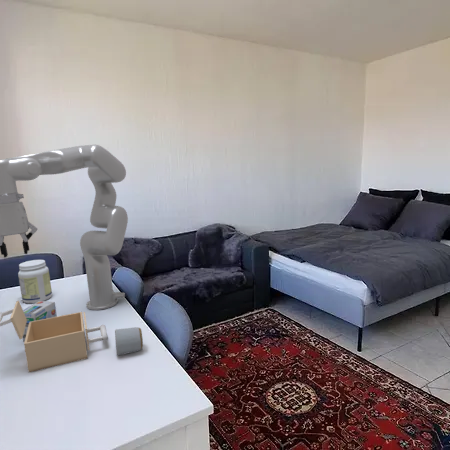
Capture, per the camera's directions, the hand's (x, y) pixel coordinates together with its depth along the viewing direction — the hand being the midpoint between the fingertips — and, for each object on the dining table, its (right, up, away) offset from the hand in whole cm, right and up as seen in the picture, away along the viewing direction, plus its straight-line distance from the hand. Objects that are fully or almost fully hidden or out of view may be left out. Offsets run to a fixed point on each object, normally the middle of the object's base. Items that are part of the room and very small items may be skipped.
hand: (16, 254), depth 117 cm
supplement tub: (-16, -24, +45) cm, 54 cm away
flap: (+6, -19, -9) cm, 22 cm away
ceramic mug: (+37, -30, -2) cm, 48 cm away
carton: (+18, -31, -1) cm, 36 cm away
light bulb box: (+3, -30, +10) cm, 31 cm away
